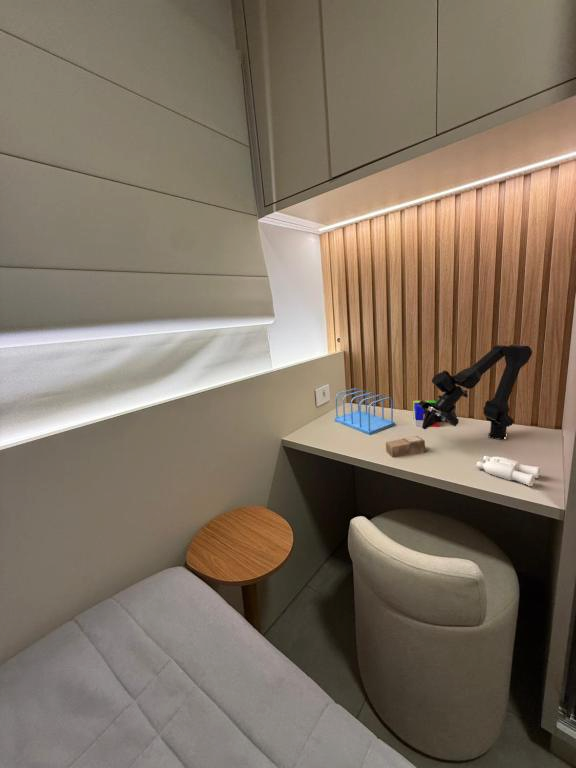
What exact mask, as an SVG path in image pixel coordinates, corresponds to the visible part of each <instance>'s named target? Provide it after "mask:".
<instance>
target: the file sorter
mask: <svg viewBox="0 0 576 768" xmlns="http://www.w3.org/2000/svg"><path fill="white" fill-rule="evenodd" d="M355 390H356V391H355ZM352 391H355V392H352ZM347 392H352V393H349V394H345V395H344V396H343V399H342V409H343V411H342V412H343V415H340V416H338V396H339V395H341V394H343V393H347ZM361 392H364V394H360V393H361ZM355 394H357V396H354V397H352V399H351V400H350V412H348V413H346V412H345V411H346V410H345V409H346V408H345V407H346V406H345V399H346V397H349V396H351V395H355ZM371 394H372V396H370V397H367V395H371ZM364 396H365V398H364V399H361V401H360V398H361V397H364ZM377 397H381V399H378V400H375V398H377ZM355 399H357V410H355V411H353V401H354V400H355ZM371 399H373V401H372V402H371V403H370V404H369V405H367V404H368V400H371ZM388 399H389V400H390V401H391V402H390V403H391V404H390V414H391V417H390V420H389V419H386V418H384V417H385V416H384V415H385V414H384V401H385V400H388ZM363 402H365V411H362V409H361V408H362V407H361V406H362V403H363ZM378 402H381V409H382V410H381V416H377V415H376V403H378ZM393 403H394V401H393V399H392V397H391V396H389V397H385V398H384V396H383V395H382V394H377V395H375V393H374V392H368V393H367V391H366V390H359V389H358V388H356V387H355V388H351V389H348V390H344V391H340V392H338V393H336V396H335V414H336V417H334V421H335V422H337V423H339V424H341V425H345V426H347V427H349V428H352V429H354V430H356V431H359V432H361V433H364V434H366V435H371V436H372V435H373V434H377V433H378V432H381V431H384V430H385V429H388V428H391V427H394V426H395V425H396V423H395V421H394V419H393V415H394V414H393V413H394V407H393V406H394V405H393ZM371 405H373V414H371V413H370V411H371V410H370V408H371ZM345 413H346V414H345Z"/></svg>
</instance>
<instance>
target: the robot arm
mask: <svg viewBox="0 0 576 768" xmlns="http://www.w3.org/2000/svg"><path fill="white" fill-rule="evenodd" d="M532 355H533V350H532V349H531V347H530V346H529V345H524V344H523V345H522V344H515V343H512V344H510V345H504V344H496V345H494V346H493V347H492V349H490V350H489V351H488V352H487V353H486V354H484V355H483V356H482V357H481V358H480V359H479V360H478V361H477V362H475V363H474V364H473V365H471V366H470V367H468V368H464V369H462V370H461V371H459V372H457V373H456V374H455V375H451V374H450V372H449V371H448V370H443V371H441V372H438V373H437V374H435V375H434V376H433V377H432V378H431V383H432V384H433V385H434V386H435V387H436V388H437V389H438V390H439V391H440V392H442V393H443V394H442V395H440V394H439V395H438V396H437V398H438V399H437V401H436V403H435V404H434V403H432V404H431V405H430V404H429V403H428V402H426V401H427V400H424V399H423V400H419V401H420V402H419V403H418V405H419V406H420V407H421V408H423V409H424V410H425V417H424V422H423V426H422V427H421V428H422V429H423V430H426V429H429V428H431V427H430V426H432V425H434V424H436V423H438V422H439V423H443V424H444V423H447V424H449V425H451V426H453V427H456V426H458V424H459V419H458V417H457V414H456V412H455V410H456V407H457V406H456V405H455V404H457V402H458V401H459V400H460V399H461V398H462V397H464V398H466V399H467V398H468V396H469V395H468V390H469V389H470V390H471V389H474V388H475V387H476V386H477V385H478V384H479V383H480V381H481V378H482V376H483V375H484V374H485V373H486V372H487V371H489V369H491V368H492V367H493V366H495V365H496V364H497V363H498V362H499V361H501V360H502V359H503V358H504V361H505V362H504V363H505V368H504V370H503V372H502V375H501V378H500V379H499V383H498V386H497V388H496V391H495V394H494V396H493V398H492V399H491V400H486V401H485V405H484V407H483V409H482V410H483V415H484V416H485V419H486V421H487V422H490V428H489V431H490V433H488V436H487V437H488V438H489V436H490V437H493V438H492V439H495V438H500V439H499V440H502V439H504V437H506V434H507V427H510V426H512V425H513V424H514V422H515V421H514V419H513V418H512V417H511V416H510V414H509V413H510V406H509V399H510V398H511V394H512V392H513V389H514V386H515V383H516V381H517V379H518V375H519V373H520V372H521V371H520V370H521V368H523V367H524V366H525V365H526V364H527V363H528V362H529V360H530V359H531V357H532ZM467 389H468V390H467Z"/></svg>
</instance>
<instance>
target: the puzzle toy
mask: <svg viewBox="0 0 576 768" xmlns="http://www.w3.org/2000/svg"><path fill="white" fill-rule="evenodd" d="M420 401H421V400H413V404H412V408H413V409H412V421H413V420H414V421H413V423H414V425H415V428H422V426H423V422H424V417H425V410H424V409H423V408H421V407H420V406H419V405H418V403H419V402H420ZM425 401H426V402H428V403H429V404H430V405H431V404H432V403H434V404H435V403H436V402H437V401H436V400H425ZM439 424H440V422H438V423H436V424H434V425H432V426H430V427H429V428H439Z"/></svg>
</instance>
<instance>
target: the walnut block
mask: <svg viewBox="0 0 576 768" xmlns="http://www.w3.org/2000/svg"><path fill="white" fill-rule="evenodd" d="M385 450H386V453H387V454H388V455H389V456H390V457H391V458H397V457H398V458H399V457H402V456H404V457H405V456H409V455H414V454H416V455H417V454H421V453H425V452H426V441H425V439H423V438H422V437H420V436H418V435H416V436H411V437H410V436H409V437H405V438H399V439H395V440H394V439H393V440H389V441H386V442H385Z"/></svg>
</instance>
